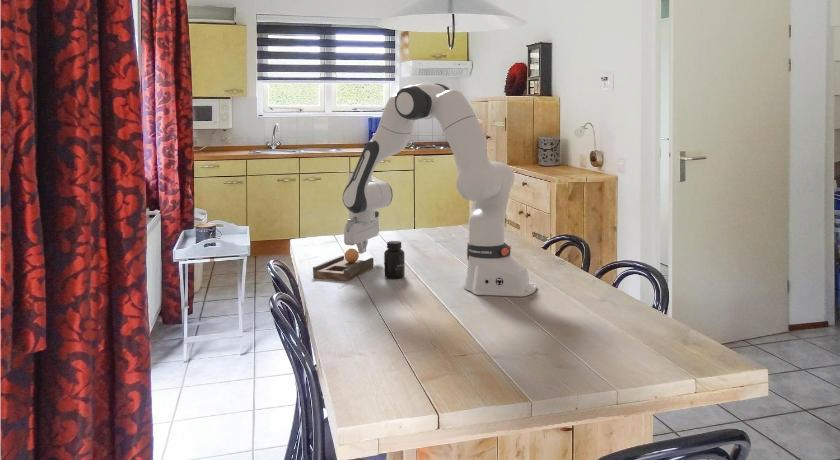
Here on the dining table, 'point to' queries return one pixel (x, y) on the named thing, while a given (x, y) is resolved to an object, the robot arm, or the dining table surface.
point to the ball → (351, 255)
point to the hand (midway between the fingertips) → (362, 252)
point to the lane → (342, 269)
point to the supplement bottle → (394, 260)
